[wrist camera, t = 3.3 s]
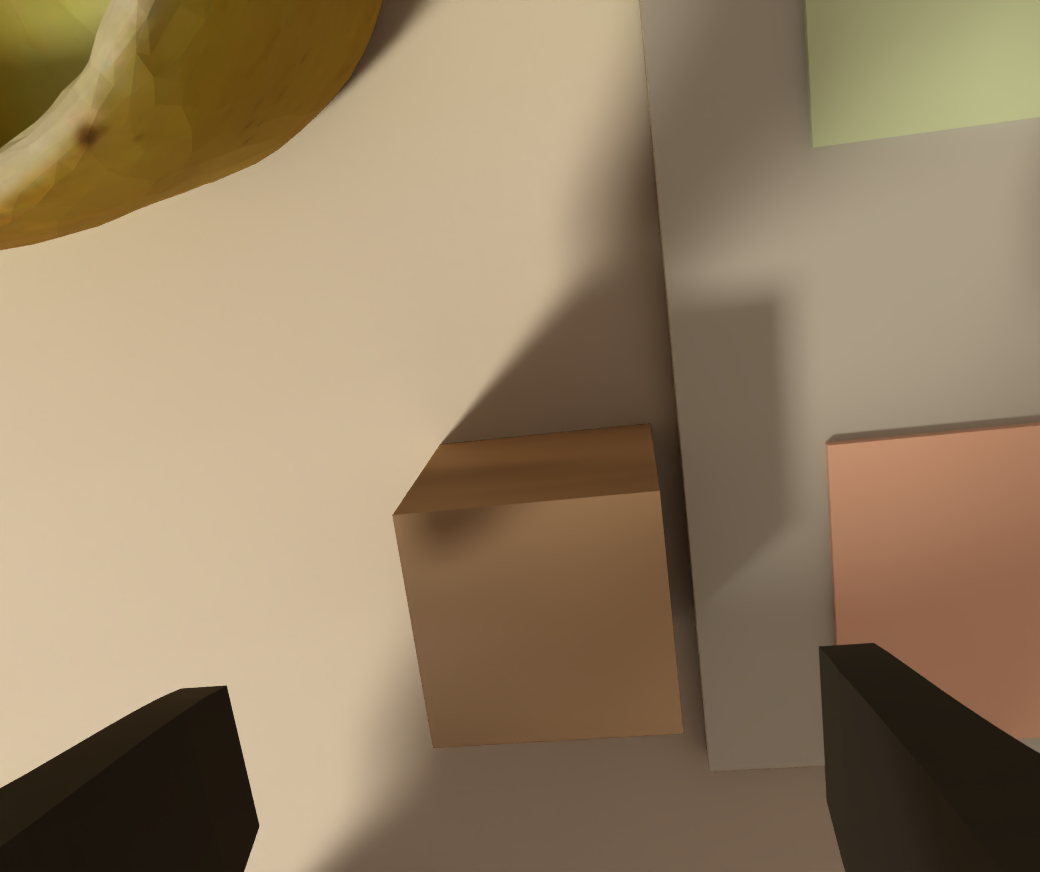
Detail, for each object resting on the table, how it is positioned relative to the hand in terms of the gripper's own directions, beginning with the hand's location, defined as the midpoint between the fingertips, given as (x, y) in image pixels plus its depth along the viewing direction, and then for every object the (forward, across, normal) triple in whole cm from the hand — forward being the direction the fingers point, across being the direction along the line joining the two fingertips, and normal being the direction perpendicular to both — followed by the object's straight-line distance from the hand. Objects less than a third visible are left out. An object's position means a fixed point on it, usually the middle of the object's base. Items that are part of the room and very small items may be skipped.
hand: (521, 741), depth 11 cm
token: (+7, 0, 0) cm, 7 cm away
